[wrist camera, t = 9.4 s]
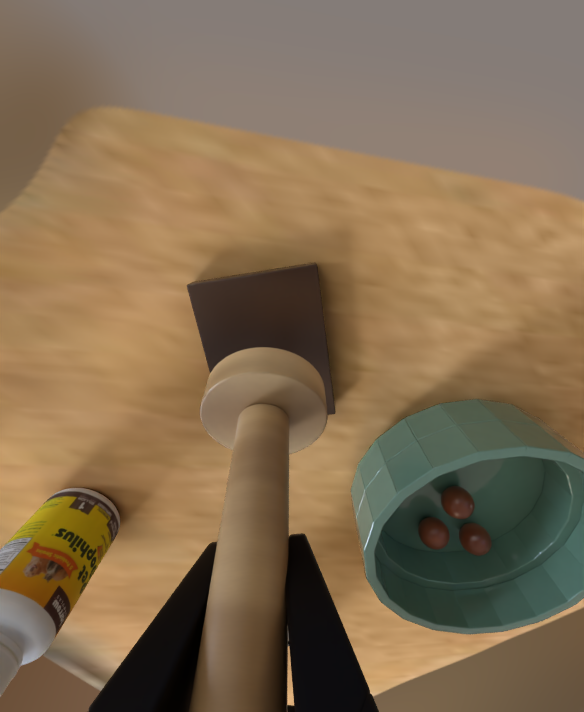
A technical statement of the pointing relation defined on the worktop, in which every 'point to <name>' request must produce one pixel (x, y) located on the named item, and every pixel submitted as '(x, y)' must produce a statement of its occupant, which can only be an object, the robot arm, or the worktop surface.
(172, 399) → the worktop surface
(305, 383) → the wooden pestle
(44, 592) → the supplement bottle
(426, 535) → the bead
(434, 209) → the worktop surface
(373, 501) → the bowl
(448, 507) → the bead
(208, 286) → the dark grey slate tile
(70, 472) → the worktop surface
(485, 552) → the bead
